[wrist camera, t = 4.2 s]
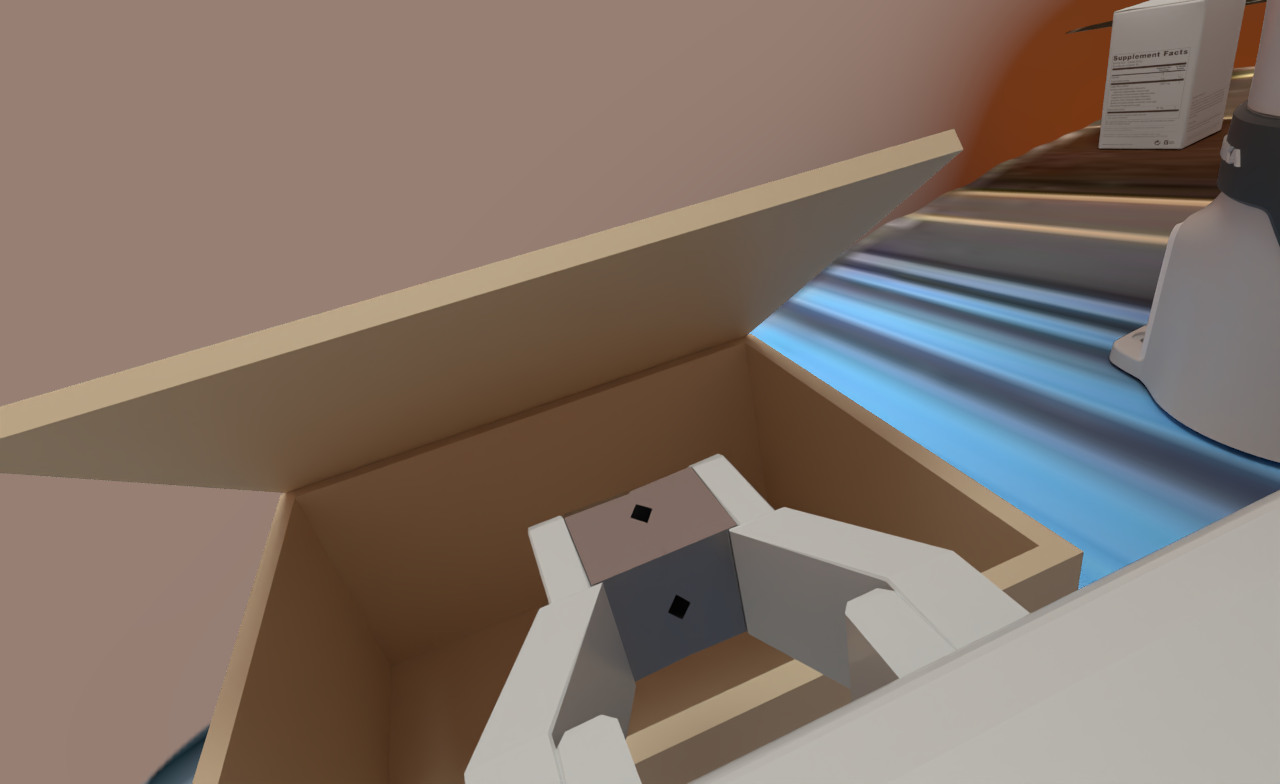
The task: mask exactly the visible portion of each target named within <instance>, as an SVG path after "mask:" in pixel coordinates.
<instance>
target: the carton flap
mask: <svg viewBox="0 0 1280 784" xmlns="http://www.w3.org/2000/svg"><path fill="white" fill-rule="evenodd" d="M962 150H963V148H962V145H961V143H960V141H959V139H958V137H957V135H956V132H955V131H954V129H952V130H948V131H945V132H941V133H938V134H935V135H931V136H928V137H925V138H921V139H917V140H914V141H910V142H907V143H904V144H900V145H897V146H893V147H890V148H887V149H883V150H880V151H876V152H873V153H869V154H866V155H862V156H859V157H856V158H852V159H849V160H845V161H842V162H838V163H835V164H832V165H829V166H825V167H821V168H818V169H814V170H811V171H808V172H804V173H801V174H797V175H794V176H790V177H787V178H783V179H780V180H777V181H773V182H770V183H766V184H763V185H760V186H756V187H753V188H749V189H746V190H742V191H739V192H736V193H732V194H729V195H725V196H722V197H718V198H715V199H712V200H708V201H705V202H701V203H698V204H694V205H691V206H687V207H684V208H681V209H677V210H674V211H670V212H667V213H664V214H660V215H656V216H653V217H650V218H646V219H643V220H639V221H636V222H633V223H630V224H626V225H622V226H619V227H615V228H612V229H609V230H605V231H602V232H599V233H595V234H591V235H588V236H584V237H581V238H578V239H575V240H571V241H568V242H564V243H561V244H557V245H554V246H550V247H547V248H543V249H540V250H536V251H533V252H530V253H526V254H523V255H519V256H516V257H513V258H509V259H505V260H502V261H499V262H495V263H492V264H488V265H485V266H482V267H478V268H475V269H471V270H468V271H465V272H461V273H457V274H454V275H451V276H447V277H444V278H440V279H437V280H433V281H430V282H427V283H424V284H420V285H416V286H413V287H410V288H406V289H402V290H399V291H396V292H392V293H389V294H385V295H382V296H378V297H375V298H372V299H368V300H365V301H361V302H358V303H355V304H351V305H348V306H344V307H341V308H337V309H334V310H330V311H327V312H324V313H320V314H317V315H313V316H310V317H306V318H303V319H300V320H296V321H293V322H289V323H286V324H282V325H279V326H276V327H272V328H269V329H265V330H262V331H258V332H255V333H252V334H248V335H245V336H241V337H238V338H234V339H231V340H228V341H224V342H221V343H217V344H214V345H210V346H207V347H203V348H200V349H197V350H193V351H190V352H186V353H183V354H179V355H176V356H173V357H170V358H166V359H163V360H159V361H155V362H152V363H148V364H145V365H142V366H138V367H135V368H131V369H128V370H124V371H121V372H118V373H114V374H111V375H107V376H104V377H100V378H97V379H94V380H90V381H87V382H83V383H80V384H76V385H73V386H70V387H66V388H63V389H59V390H56V391H52V392H49V393H45V394H42V395H39V396H35V397H32V398H28V399H25V400H21V401H18V402H15V403H11V404H8V405H4V406H1V407H0V473H8V474H22V475H36V476H51V477H65V478H79V479H94V480H108V481H122V482H137V483H151V484H166V485H180V486H194V487H209V488H224V489H237V490H253V491H266V492H281V493H287V492H290V491H293V490H296V489H299V488H302V487H305V486H308V485H311V484H314V483H317V482H320V481H323V480H325V479H328V478H331V477H334V476H337V475H340V474H343V473H346V472H349V471H352V470H355V469H358V468H361V467H363V466H366V465H369V464H372V463H375V462H378V461H381V460H384V459H387V458H390V457H393V456H396V455H399V454H401V453H404V452H407V451H410V450H413V449H416V448H419V447H422V446H425V445H428V444H431V443H434V442H436V441H439V440H442V439H445V438H448V437H451V436H454V435H457V434H460V433H463V432H466V431H469V430H472V429H474V428H477V427H480V426H483V425H486V424H489V423H492V422H495V421H498V420H501V419H504V418H507V417H510V416H512V415H515V414H518V413H521V412H524V411H527V410H530V409H533V408H536V407H539V406H542V405H545V404H548V403H550V402H553V401H556V400H559V399H562V398H565V397H568V396H571V395H574V394H577V393H580V392H583V391H586V390H588V389H591V388H594V387H597V386H600V385H603V384H606V383H609V382H612V381H615V380H618V379H621V378H624V377H626V376H629V375H632V374H635V373H638V372H641V371H644V370H647V369H650V368H653V367H656V366H659V365H661V364H664V363H667V362H670V361H673V360H676V359H679V358H682V357H685V356H688V355H691V354H694V353H697V352H699V351H702V350H705V349H708V348H711V347H714V346H717V345H720V344H723V343H726V342H729V341H732V340H735V339H737V338H740V337H743V336H746V335H748V334H749V333H750V332H751V331H752V330H754V329H755V328H756V327H757V326H758V325H759V324H761V323H762V322H763V321H764V320H765V319H766V318H768V317H769V316H770V315H771V314H772V313H773V312H775V311H776V310H777V309H778V308H779V307H780V306H782V305H783V304H784V303H785V302H786V301H787V300H789V299H790V298H791V297H792V296H793V295H794V294H795V293H797V292H798V291H799V290H800V289H801V288H802V287H804V286H805V285H806V284H807V283H808V282H809V281H811V280H812V279H813V278H814V277H815V276H816V275H818V274H819V273H820V272H821V271H822V270H823V269H825V268H826V267H827V266H828V265H829V264H830V263H832V262H833V261H834V260H835V259H836V258H837V257H839V256H840V255H841V254H842V253H843V252H844V251H846V250H847V249H848V248H849V247H850V246H851V245H852V244H854V243H855V242H856V241H857V240H858V239H860V238H861V237H862V236H863V235H864V234H865V233H866V232H868V231H869V230H870V229H871V228H872V227H873V226H875V225H876V224H877V223H878V222H879V221H880V220H882V219H883V218H884V217H885V216H886V215H888V214H889V213H890V212H891V211H892V210H893V209H895V208H896V207H897V206H898V205H899V204H900V203H902V202H903V201H904V200H905V199H906V198H907V197H909V196H910V195H911V194H912V193H913V192H914V191H915V190H917V189H918V188H919V187H920V186H921V185H922V184H924V183H925V182H926V181H927V180H928V179H930V177H932V176H933V175H934V174H935V173H937V172H938V171H939V170H940V169H941V168H942V167H943V166H945V165H946V164H947V163H948V162H949V161H951V160H952V159H953V158H954V157H955V156H956V155H958V154H959V153H960V152H961V151H962Z"/></svg>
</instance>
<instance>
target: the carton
mask: <svg viewBox="0 0 1280 784" xmlns="http://www.w3.org/2000/svg"><path fill="white" fill-rule="evenodd" d="M716 454H720V455H723V456H724V457H725V458H726V459H727V460H728V461H729V462H730V463H731V464H732V465H733V466H734V467H735V468H736V470H737V471H738V472H739V473H740V474H741V475H742V476H743V477H744V478H745V479H746V480H747V481H748V482H749V483H750V484H751V486H752V487H753V488H754V489H755V490H756V491H757V492H758V493H759V494H760V495H761V496H762V497H763V498H764V499H765V500H766V501H767V503H768V504H769V505H770V506H771V507H772V508H773V509H774V510H778V509H780V508H783V507H786V508H790V509H794V510H798V511H802V512H805V513H809V514H813V515H817V516H821V517H825V518H828V519H832V520H836V521H840V522H844V523H848V524H851V525H855V526H859V527H863V528H867V529H871V530H874V531H878V532H882V533H886V534H890V535H894V536H898V537H901V538H905V539H909V540H913V541H917V542H921V543H924V544H928V545H932V546H936V547H940V548H944V549H947V550H951V551H954V552H955V553H956V554H958V555H959V556H960V557H961V558H963V559H964V560H965V561H966V562H968V563H969V564H970V565H971V566H972V567H974V568H975V569H976V570H977V571H979V572H980V573H981V574H982V575H984V576H985V577H986V578H987V579H989V580H990V581H991V582H992V583H993V584H995V585H996V586H997V587H998V588H1000V589H1001V590H1002V591H1003V592H1005V593H1006V594H1007V595H1008V596H1010V597H1011V598H1012V599H1013V600H1014V601H1016V602H1017V603H1018V604H1019V605H1021V606H1022V607H1023V608H1024V609H1026V610H1027V611H1028V612H1029V613H1032V612H1034V611H1036V610H1038V609H1040V608H1042V607H1044V606H1046V605H1048V604H1050V603H1052V602H1054V601H1056V600H1058V599H1060V598H1062V597H1064V596H1066V595H1068V594H1070V593H1072V592H1074V591H1076V590H1078V585H1079V578H1080V572H1081V565H1082V559H1083V551H1082V550H1080V549H1079V548H1077V547H1076V546H1074V545H1072V544H1071V543H1069V542H1068V541H1066V540H1065V539H1063V538H1062V537H1060V536H1059V535H1057V534H1056V533H1054V532H1053V531H1051V530H1050V529H1048V528H1046V527H1045V526H1043V525H1042V524H1040V523H1039V522H1037V521H1036V520H1034V519H1033V518H1031V517H1030V516H1028V515H1027V514H1025V513H1024V512H1022V511H1021V510H1019V509H1017V508H1016V507H1014V506H1013V505H1011V504H1010V503H1008V502H1007V501H1005V500H1004V499H1002V498H1001V497H999V496H998V495H996V494H995V493H993V492H992V491H990V490H988V489H987V488H985V487H984V486H982V485H981V484H979V483H978V482H976V481H975V480H973V479H972V478H970V477H969V476H967V475H966V474H964V473H962V472H961V471H959V470H958V469H956V468H955V467H953V466H952V465H950V464H949V463H947V462H946V461H944V460H943V459H941V458H940V457H938V456H937V455H935V454H933V453H932V452H930V451H929V450H927V449H926V448H924V447H923V446H921V445H920V444H918V443H917V442H915V441H914V440H912V439H911V438H909V437H908V436H906V435H904V434H903V433H901V432H900V431H898V430H897V429H895V428H894V427H892V426H891V425H889V424H888V423H886V422H885V421H883V420H882V419H880V418H878V417H877V416H875V415H874V414H872V413H871V412H869V411H868V410H866V409H865V408H863V407H862V406H860V405H859V404H857V403H856V402H854V401H853V400H851V399H849V398H848V397H846V396H845V395H843V394H842V393H840V392H839V391H837V390H836V389H834V388H833V387H831V386H830V385H828V384H827V383H825V382H824V381H822V380H820V379H819V378H817V377H816V376H814V375H813V374H811V373H810V372H808V371H807V370H805V369H804V368H802V367H801V366H799V365H798V364H796V363H794V362H793V361H791V360H790V359H788V358H787V357H785V356H784V355H782V354H781V353H779V352H778V351H776V350H775V349H773V348H772V347H770V346H769V345H767V344H765V343H764V342H762V341H761V340H759V339H758V338H756V337H755V336H753V335H752V334H749V335H746V336H743V337H740V338H737V339H735V340H732V341H729V342H726V343H723V344H720V345H717V346H714V347H711V348H708V349H705V350H702V351H700V352H697V353H694V354H691V355H688V356H685V357H682V358H679V359H676V360H673V361H670V362H667V363H664V364H662V365H659V366H656V367H653V368H650V369H647V370H644V371H641V372H638V373H635V374H632V375H629V376H626V377H624V378H621V379H618V380H615V381H612V382H609V383H606V384H603V385H600V386H597V387H594V388H591V389H588V390H586V391H583V392H580V393H577V394H574V395H571V396H568V397H565V398H562V399H559V400H556V401H553V402H550V403H548V404H545V405H542V406H539V407H536V408H533V409H530V410H527V411H524V412H521V413H518V414H515V415H512V416H510V417H507V418H504V419H501V420H498V421H495V422H492V423H489V424H486V425H483V426H480V427H477V428H475V429H472V430H469V431H466V432H463V433H460V434H457V435H454V436H451V437H448V438H445V439H442V440H439V441H437V442H434V443H431V444H428V445H425V446H422V447H419V448H416V449H413V450H410V451H407V452H404V453H401V454H399V455H396V456H393V457H390V458H387V459H384V460H381V461H378V462H375V463H372V464H369V465H366V466H363V467H361V468H358V469H355V470H352V471H349V472H346V473H343V474H340V475H337V476H334V477H331V478H328V479H325V480H323V481H320V482H317V483H314V484H311V485H308V486H305V487H302V488H299V489H296V490H293V491H290V492H287V493H285V494H282V495H281V496H280V499H279V502H278V506H277V509H276V512H275V516H274V519H273V522H272V525H271V529H270V532H269V535H268V539H267V542H266V545H265V548H264V551H263V555H262V558H261V561H260V565H259V568H258V571H257V574H256V578H255V581H254V584H253V587H252V590H251V594H250V597H249V601H248V604H247V607H246V610H245V613H244V617H243V620H242V623H241V626H240V630H239V633H238V636H237V640H236V643H235V646H234V649H233V652H232V656H231V659H230V662H229V666H228V669H227V672H226V675H225V679H224V682H223V685H222V688H221V692H220V695H219V698H218V702H217V705H216V708H215V711H214V714H213V718H212V721H211V724H210V727H209V731H208V734H207V737H206V741H205V744H204V747H203V750H202V754H201V757H200V760H199V763H198V767H197V770H196V773H195V776H194V780H193V783H192V784H465V777H464V773H465V771H466V768H467V766H468V764H469V762H470V760H471V757H472V755H473V753H474V751H475V749H476V746H477V744H478V742H479V740H480V738H481V735H482V733H483V731H484V729H485V727H486V724H487V722H488V720H489V718H490V716H491V713H492V711H493V709H494V707H495V705H496V703H497V700H498V698H499V696H500V694H501V692H502V689H503V687H504V685H505V683H506V681H507V678H508V676H509V674H510V672H511V670H512V667H513V665H514V663H515V661H516V659H517V656H518V654H519V652H520V650H521V648H522V645H523V643H524V641H525V639H526V637H527V634H528V632H529V630H530V628H531V626H532V623H533V621H534V619H535V617H536V615H537V612H538V610H539V609H540V608H542V607H544V606H547V605H549V601H548V598H547V595H546V591H545V588H544V585H543V581H542V578H541V575H540V571H539V568H538V565H537V562H536V558H535V555H534V552H533V548H532V545H531V542H530V538H529V535H528V528H529V527H531V526H534V525H536V524H539V523H542V522H544V521H547V520H549V519H552V518H555V517H557V516H561V517H563V515H562V514H565V513H568V512H571V511H573V510H576V509H579V508H582V507H584V506H587V505H590V504H593V503H595V502H598V501H601V500H604V499H606V498H609V497H612V496H615V495H617V494H620V493H623V492H626V491H630V490H633V489H635V488H638V487H640V486H643V485H645V484H648V483H650V482H653V481H655V480H658V479H660V478H663V477H665V476H668V475H670V474H673V473H675V472H678V471H680V470H683V469H685V468H688V466H690V465H692V464H695V463H697V462H699V461H702V460H704V459H706V458H709V457H711V456H714V455H716ZM635 684H636V689H635V694H634V700H633V705H632V711H631V716H630V722H629V727H628V733H627V738H626V743H627V746H628V748H629V751H630V754H631V756H632V759H633V762H634V764H635V767H636V770H637V773H638V775H639V778H640V781H641V783H642V784H687V783H689V782H691V781H693V780H695V779H697V778H699V777H701V776H703V775H705V774H708V773H710V772H712V771H714V770H716V769H718V768H720V767H722V766H724V765H726V764H728V763H730V762H732V761H734V760H736V759H738V758H740V757H742V756H744V755H746V754H748V753H750V752H752V751H754V750H756V749H758V748H760V747H762V746H764V745H766V744H768V743H770V742H772V741H774V740H776V739H778V738H780V737H782V736H784V735H786V734H788V733H790V732H792V731H794V730H796V729H798V728H800V727H802V726H804V725H806V724H808V723H810V722H812V721H814V720H816V719H818V718H821V717H823V716H825V715H827V714H829V713H831V712H833V711H835V710H837V709H839V708H841V707H843V706H845V705H847V704H849V703H851V702H852V698H851V689H849V688H848V687H846V686H844V685H842V684H840V683H838V682H836V681H835V680H833V679H831V678H829V677H827V676H825V675H824V674H822V673H820V672H818V671H816V670H814V669H812V668H811V667H809V666H807V665H805V664H803V663H801V662H799V661H798V660H796V659H794V658H792V657H790V656H788V655H787V654H785V653H783V652H781V651H779V650H777V649H775V648H774V647H772V646H770V645H768V644H766V643H764V642H763V641H761V640H759V639H757V638H755V637H753V636H751V635H750V634H748V631H746V632H744V633H741V634H739V635H737V636H734V637H732V638H730V639H727V640H725V641H722V642H720V643H718V644H715V645H713V646H710V647H708V648H706V649H703V650H701V651H699V652H696V653H694V654H691V655H689V656H687V657H685V658H683V659H681V660H679V661H677V662H675V663H673V664H671V665H669V666H667V667H665V668H662V669H660V670H658V671H656V672H654V673H652V674H650V675H648V676H646V677H644V678H642V679H640V680H638V681H636V682H635Z"/></svg>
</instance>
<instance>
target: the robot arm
mask: <svg viewBox="0 0 1280 784" xmlns="http://www.w3.org/2000/svg"><path fill="white" fill-rule="evenodd" d="M1220 154H1221V158H1222V161H1221V166H1220V171H1219V175H1218V180H1217V186H1218V188H1219V189H1220V190H1221V191H1222V192H1221V193H1220V194H1219V196H1218V197H1217V198H1216V199H1215V200H1214V201H1213V202H1211V203H1210V204H1209V205H1207V206H1206V207H1205V208H1203V209H1201V210H1199V211H1197V212H1195V213H1194V214H1192V215H1191V216H1189V217H1188V218H1187V219H1186V220H1185V221H1184V222H1182V223H1179V224H1177V225H1176V226H1175V227H1174V229H1173V230H1172V232H1171V234H1170V237H1169V241H1168V244H1167V248H1166V252H1165V256H1164V260H1163V264H1162V268H1161V272H1160V276H1159V280H1158V284H1157V288H1156V292H1155V296H1154V300H1153V304H1152V308H1151V312H1150V316H1149V320H1148V324H1147V325H1145V326H1143V327H1141V328H1139V329H1137V330H1135V331H1133V332H1131V333H1129V334H1127V335H1125V336H1123V337H1121V338H1119V339H1118V340H1116V341H1115V342H1114V343H1113V346H1112V350H1111V353H1110V356H1109V359H1110V361H1111V362H1112V363H1113V364H1115V365H1116V366H1118V367H1119V368H1121V369H1122V370H1124V371H1126V372H1128V373H1129V374H1131V375H1133V376H1135V377H1136V378H1138V379H1140V380H1141V381H1142V382H1143V383H1144V384H1145V386H1146V387H1147V389H1148V390H1149V392H1150V393H1151V395H1152V397H1153V398H1154V399H1155V401H1156V402H1157V403H1158V404H1159V405H1160V406H1161V407H1162V408H1163V409H1164V410H1165V411H1166V412H1167V413H1168V414H1170V415H1171V416H1172V417H1174V418H1175V419H1176V420H1178V421H1180V422H1181V423H1183V424H1184V425H1186V426H1188V427H1189V428H1191V429H1193V430H1195V431H1197V432H1199V433H1200V434H1202V435H1204V436H1207V437H1209V438H1211V439H1213V440H1215V441H1218V442H1220V443H1222V444H1225V445H1227V446H1230V447H1232V448H1235V449H1238V450H1240V451H1243V452H1246V453H1249V454H1252V455H1255V456H1258V457H1262V458H1265V459H1268V460H1272V461H1275V462H1279V463H1280V0H1267V4H1266V12H1265V17H1264V23H1263V29H1262V35H1261V40H1260V46H1259V51H1258V56H1257V61H1256V65H1255V70H1254V75H1253V80H1252V84H1251V89H1250V94H1249V98H1248V100H1246V101H1245V102H1243V103H1242V104H1241V105H1239V106H1238V107H1237V108H1236V109H1235V110H1234V113H1233V117H1232V121H1231V124H1230V128H1229V132H1228V135H1225V137H1224V140H1223V144H1222V148H1221V153H1220ZM562 515H563V517H561V516H557V517H555V518H552V519H549V520H547V521H544V522H542V523H539V524H536V525H534V526H531V527H529V528H528V535H529V538H530V542H531V545H532V548H533V552H534V555H535V558H536V562H537V565H538V568H539V571H540V575H541V578H542V581H543V585H544V588H545V591H546V595H547V598H548V601H549V605H547V606H544V607H542V608H540V609H539V610H538V612H537V615H536V617H535V619H534V621H533V623H532V626H531V628H530V630H529V632H528V634H527V637H526V639H525V641H524V643H523V645H522V648H521V650H520V652H519V654H518V656H517V659H516V661H515V663H514V665H513V667H512V670H511V672H510V674H509V676H508V678H507V681H506V683H505V685H504V687H503V689H502V692H501V694H500V696H499V698H498V700H497V703H496V705H495V707H494V709H493V711H492V713H491V716H490V718H489V720H488V722H487V724H486V727H485V729H484V731H483V733H482V735H481V738H480V740H479V742H478V744H477V746H476V749H475V751H474V753H473V755H472V757H471V760H470V762H469V764H468V766H467V768H466V771H465V773H464V777H465V784H642V783H641V781H640V778H639V775H638V773H637V770H636V767H635V764H634V762H633V759H632V756H631V754H630V751H629V748H628V746H627V743H626V738H627V733H628V727H629V722H630V716H631V711H632V705H633V700H634V694H635V689H636V684H635V682H636V681H638V680H640V679H642V678H644V677H646V676H648V675H650V674H652V673H654V672H656V671H658V670H660V669H662V668H665V667H667V666H669V665H671V664H673V663H675V662H677V661H679V660H681V659H683V658H685V657H687V656H689V655H691V654H694V653H696V652H699V651H701V650H703V649H706V648H708V647H710V646H713V645H715V644H718V643H720V642H722V641H725V640H727V639H730V638H732V637H734V636H737V635H739V634H741V633H744V632H746V631H748V634H750V635H751V636H753V637H755V638H757V639H759V640H761V641H763V642H764V643H766V644H768V645H770V646H772V647H774V648H775V649H777V650H779V651H781V652H783V653H785V654H787V655H788V656H790V657H792V658H794V659H796V660H798V661H799V662H801V663H803V664H805V665H807V666H809V667H811V668H812V669H814V670H816V671H818V672H820V673H822V674H824V675H825V676H827V677H829V678H831V679H833V680H835V681H836V682H838V683H840V684H842V685H844V686H846V687H848V688H849V689H851V698H852V702H851V703H849V704H847V705H845V706H843V707H841V708H839V709H837V710H835V711H833V712H831V713H829V714H827V715H825V716H823V717H821V718H818V719H816V720H814V721H812V722H810V723H808V724H806V725H804V726H802V727H800V728H798V729H796V730H794V731H792V732H790V733H788V734H786V735H784V736H782V737H780V738H778V739H776V740H774V741H772V742H770V743H768V744H766V745H764V746H762V747H760V748H758V749H756V750H754V751H752V752H750V753H748V754H746V755H744V756H742V757H740V758H738V759H736V760H734V761H732V762H730V763H728V764H726V765H724V766H722V767H720V768H718V769H716V770H714V771H712V772H710V773H708V774H705V775H703V776H701V777H699V778H697V779H695V780H693V781H691V782H689V783H687V784H1280V490H1278V491H1276V492H1274V493H1272V494H1270V495H1268V496H1266V497H1264V498H1262V499H1260V500H1258V501H1256V502H1254V503H1252V504H1250V505H1248V506H1246V507H1244V508H1242V509H1240V510H1238V511H1236V512H1234V513H1232V514H1230V515H1228V516H1226V517H1224V518H1222V519H1220V520H1218V521H1216V522H1214V523H1212V524H1210V525H1208V526H1206V527H1204V528H1202V529H1200V530H1198V531H1196V532H1194V533H1192V534H1190V535H1188V536H1186V537H1184V538H1182V539H1180V540H1177V541H1175V542H1173V543H1171V544H1169V545H1167V546H1165V547H1163V548H1161V549H1159V550H1157V551H1155V552H1153V553H1151V554H1149V555H1147V556H1145V557H1143V558H1141V559H1139V560H1137V561H1135V562H1133V563H1131V564H1129V565H1127V566H1125V567H1123V568H1121V569H1119V570H1117V571H1115V572H1113V573H1111V574H1109V575H1107V576H1105V577H1103V578H1101V579H1099V580H1097V581H1095V582H1093V583H1091V584H1089V585H1087V586H1085V587H1083V588H1081V589H1079V590H1076V591H1074V592H1072V593H1070V594H1068V595H1066V596H1064V597H1062V598H1060V599H1058V600H1056V601H1054V602H1052V603H1050V604H1048V605H1046V606H1044V607H1042V608H1040V609H1038V610H1036V611H1034V612H1032V613H1029V612H1028V611H1027V610H1026V609H1024V608H1023V607H1022V606H1021V605H1019V604H1018V603H1017V602H1016V601H1014V600H1013V599H1012V598H1011V597H1010V596H1008V595H1007V594H1006V593H1005V592H1003V591H1002V590H1001V589H1000V588H998V587H997V586H996V585H995V584H993V583H992V582H991V581H990V580H989V579H987V578H986V577H985V576H984V575H982V574H981V573H980V572H979V571H977V570H976V569H975V568H974V567H972V566H971V565H970V564H969V563H968V562H966V561H965V560H964V559H963V558H961V557H960V556H959V555H958V554H956V553H955V552H954V551H951V550H947V549H944V548H940V547H936V546H932V545H928V544H924V543H921V542H917V541H913V540H909V539H905V538H901V537H898V536H894V535H890V534H886V533H882V532H878V531H874V530H871V529H867V528H863V527H859V526H855V525H851V524H848V523H844V522H840V521H836V520H832V519H828V518H825V517H821V516H817V515H813V514H809V513H805V512H802V511H798V510H794V509H790V508H786V507H783V508H780V509H778V510H774V509H773V508H772V507H771V506H770V505H769V504H768V503H767V501H766V500H765V499H764V498H763V497H762V496H761V495H760V494H759V493H758V492H757V491H756V490H755V489H754V488H753V487H752V486H751V484H750V483H749V482H748V481H747V480H746V479H745V478H744V477H743V476H742V475H741V474H740V473H739V472H738V471H737V470H736V468H735V467H734V466H733V465H732V464H731V463H730V462H729V461H728V460H727V459H726V458H725V457H724V456H723V455H720V454H716V455H714V456H711V457H709V458H706V459H704V460H702V461H699V462H697V463H695V464H692V465H690V466H688V468H685V469H683V470H680V471H678V472H675V473H673V474H670V475H668V476H665V477H663V478H660V479H658V480H655V481H653V482H650V483H648V484H645V485H643V486H640V487H638V488H635V489H633V490H630V491H626V492H623V493H620V494H617V495H615V496H612V497H609V498H606V499H604V500H601V501H598V502H595V503H593V504H590V505H587V506H584V507H582V508H579V509H576V510H573V511H571V512H568V513H565V514H562Z"/></svg>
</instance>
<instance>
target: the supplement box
mask: <svg viewBox="0 0 1280 784" xmlns="http://www.w3.org/2000/svg"><path fill="white" fill-rule="evenodd" d="M1245 2H1246V0H1150V1H1147V2H1144V3H1141V4H1138V5H1135V6H1132V7H1128V8H1125V9H1122V10H1119V11H1115V12H1114V17H1113V26H1112V35H1111V44H1110V53H1109V62H1108V71H1107V79H1106V87H1105V95H1104V104H1103V112H1102V121H1101V130H1100V139H1099V147H1098V148H1099V149H1183V148H1185V147H1187V146H1189V145H1191V144H1193V143H1195V142H1197V141H1199V140H1201V139H1203V138H1205V137H1207V136H1209V135H1211V134H1213V133H1215V132H1217V131H1219V130H1221V128H1222V122H1223V117H1224V112H1225V107H1226V102H1227V97H1228V91H1229V86H1230V81H1231V76H1232V70H1233V65H1234V60H1235V54H1236V49H1237V44H1238V39H1239V33H1240V28H1241V22H1242V18H1243V12H1244V7H1245Z"/></svg>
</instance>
